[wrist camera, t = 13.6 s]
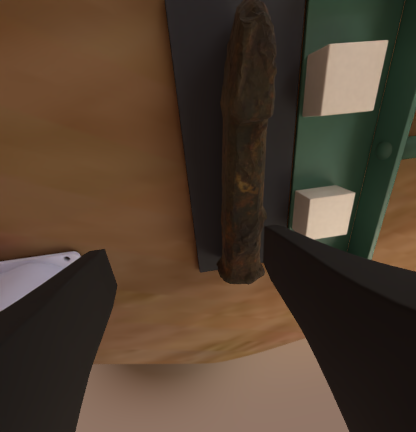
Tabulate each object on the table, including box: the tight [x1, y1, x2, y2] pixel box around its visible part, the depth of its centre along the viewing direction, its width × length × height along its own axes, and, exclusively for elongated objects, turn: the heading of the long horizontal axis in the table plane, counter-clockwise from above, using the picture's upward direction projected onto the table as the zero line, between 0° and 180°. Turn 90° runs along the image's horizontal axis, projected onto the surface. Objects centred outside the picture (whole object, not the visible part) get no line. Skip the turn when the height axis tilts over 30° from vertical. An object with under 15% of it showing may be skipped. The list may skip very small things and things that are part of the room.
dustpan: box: [288, 0, 416, 260], centre depth 18 cm, size 16×23×3 cm
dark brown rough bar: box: [216, 0, 277, 284], centre depth 15 cm, size 19×4×5 cm, turn 0°
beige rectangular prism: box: [302, 40, 388, 117], centre depth 15 cm, size 4×4×2 cm
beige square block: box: [292, 185, 355, 239], centre depth 19 cm, size 4×4×2 cm
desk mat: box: [165, 0, 305, 273], centre depth 17 cm, size 9×21×1 cm, turn 5°
